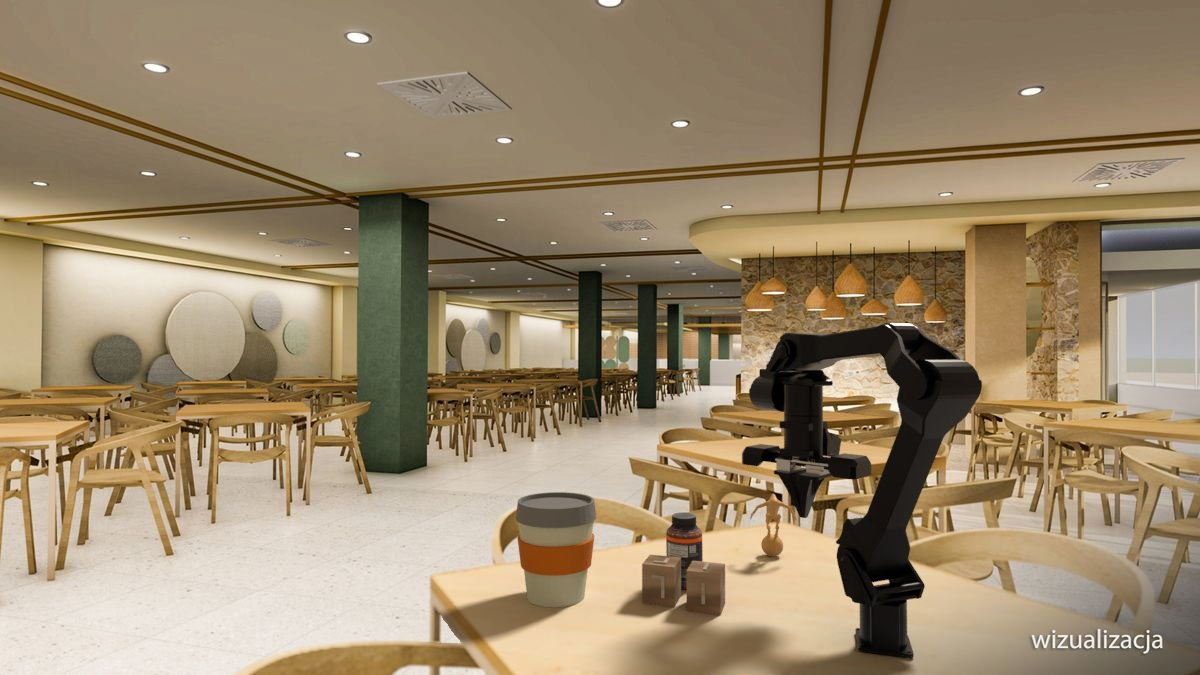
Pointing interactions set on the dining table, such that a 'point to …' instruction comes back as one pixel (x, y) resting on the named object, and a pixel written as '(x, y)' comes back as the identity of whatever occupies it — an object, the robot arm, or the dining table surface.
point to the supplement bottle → (684, 542)
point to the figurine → (772, 542)
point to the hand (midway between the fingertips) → (803, 517)
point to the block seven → (661, 580)
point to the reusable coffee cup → (555, 546)
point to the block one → (706, 587)
